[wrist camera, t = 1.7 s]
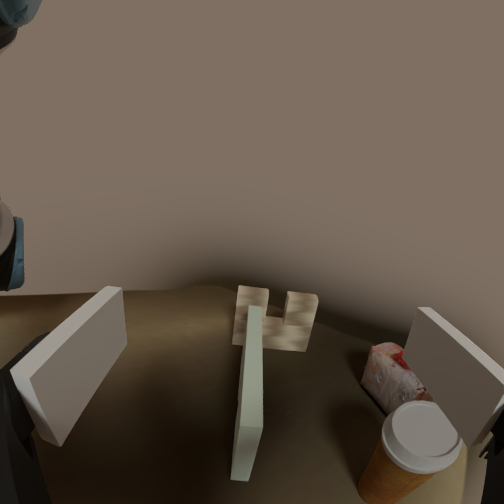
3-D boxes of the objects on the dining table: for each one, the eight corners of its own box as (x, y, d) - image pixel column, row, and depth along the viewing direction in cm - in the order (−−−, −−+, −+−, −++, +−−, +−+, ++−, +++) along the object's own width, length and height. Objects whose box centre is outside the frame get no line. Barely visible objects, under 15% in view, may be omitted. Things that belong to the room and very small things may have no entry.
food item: (351, 381, 45) (368, 334, 42) (384, 372, 47) (402, 328, 44) (394, 433, 32) (423, 385, 29) (427, 417, 34) (455, 371, 32)
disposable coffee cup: (369, 449, 30) (407, 386, 26) (423, 477, 23) (473, 417, 20) (329, 493, 23) (370, 435, 20) (392, 529, 17) (454, 477, 13)
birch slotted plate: (231, 344, 52) (238, 291, 49) (232, 337, 55) (238, 285, 52) (305, 351, 53) (318, 300, 50) (304, 344, 55) (316, 294, 52)
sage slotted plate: (248, 481, 25) (263, 427, 22) (230, 479, 25) (239, 425, 22) (252, 362, 48) (261, 306, 45) (241, 360, 48) (248, 305, 45)
